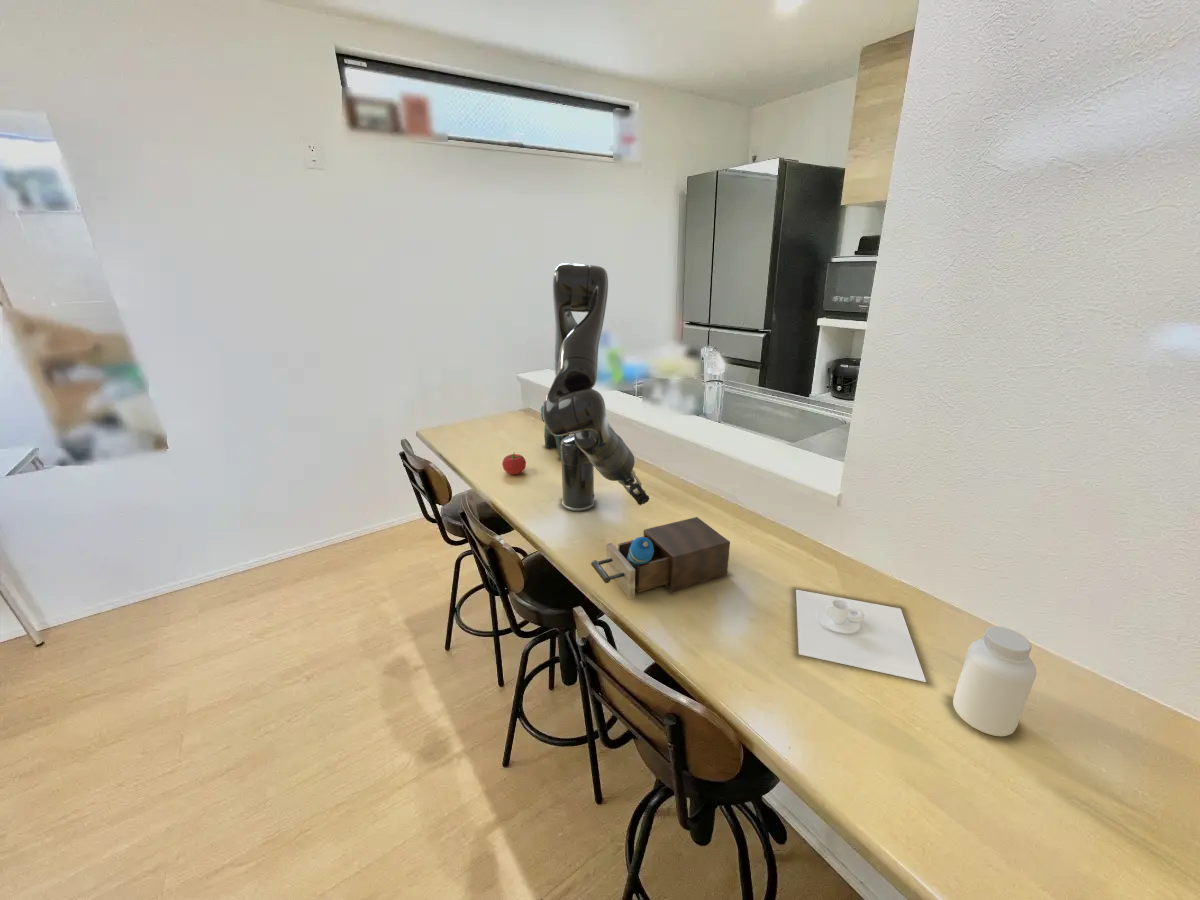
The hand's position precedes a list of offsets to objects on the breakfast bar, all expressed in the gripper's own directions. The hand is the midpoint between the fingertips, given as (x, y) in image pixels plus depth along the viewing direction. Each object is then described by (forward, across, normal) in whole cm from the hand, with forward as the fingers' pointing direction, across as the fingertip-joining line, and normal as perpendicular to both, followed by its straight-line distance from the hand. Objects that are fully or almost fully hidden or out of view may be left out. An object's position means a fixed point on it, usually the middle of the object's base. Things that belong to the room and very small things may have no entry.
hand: (635, 486), depth 109 cm
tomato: (+34, +50, +33) cm, 69 cm away
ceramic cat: (+51, +60, +19) cm, 81 cm away
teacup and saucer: (+15, -45, -18) cm, 51 cm away
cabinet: (+17, -16, +2) cm, 23 cm away
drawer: (+9, -14, +12) cm, 20 cm away
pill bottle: (+7, -65, -24) cm, 70 cm away
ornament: (+9, -11, +12) cm, 18 cm away
